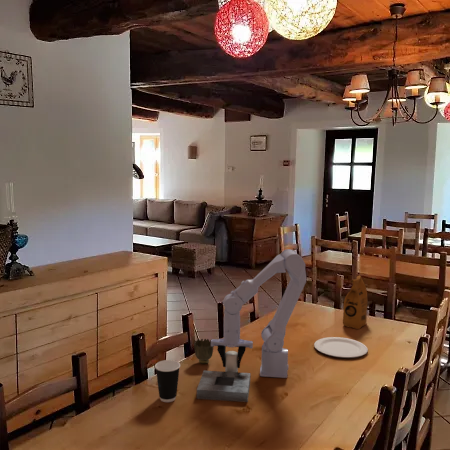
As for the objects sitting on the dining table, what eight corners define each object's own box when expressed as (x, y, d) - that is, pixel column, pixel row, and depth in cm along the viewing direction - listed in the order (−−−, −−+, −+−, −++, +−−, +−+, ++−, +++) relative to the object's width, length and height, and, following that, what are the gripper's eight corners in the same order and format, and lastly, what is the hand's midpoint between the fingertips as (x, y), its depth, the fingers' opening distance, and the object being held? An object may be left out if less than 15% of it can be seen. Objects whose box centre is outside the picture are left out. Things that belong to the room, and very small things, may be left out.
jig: (250, 381, 163) (250, 373, 162) (247, 402, 149) (247, 392, 149) (203, 378, 165) (203, 370, 164) (196, 398, 151) (196, 389, 150)
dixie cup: (185, 397, 152) (185, 364, 150) (168, 407, 145) (168, 372, 144) (167, 390, 156) (166, 357, 155) (149, 399, 150) (149, 366, 148)
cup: (211, 367, 173) (211, 346, 172) (191, 365, 175) (191, 344, 174) (215, 359, 180) (215, 339, 179) (196, 357, 182) (196, 337, 181)
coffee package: (338, 325, 219) (340, 278, 216) (349, 318, 229) (351, 273, 226) (360, 330, 213) (362, 282, 210) (369, 323, 223) (372, 276, 220)
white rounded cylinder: (238, 370, 170) (238, 351, 169) (237, 375, 166) (237, 356, 165) (226, 369, 171) (226, 350, 170) (224, 374, 167) (224, 355, 166)
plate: (309, 355, 186) (309, 351, 186) (319, 337, 205) (319, 333, 205) (364, 364, 178) (364, 360, 178) (370, 345, 197) (370, 341, 197)
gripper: (209, 332, 163) (209, 370, 165) (252, 334, 162) (251, 372, 163) (212, 325, 170) (212, 361, 172) (253, 326, 169) (252, 363, 170)
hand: (231, 366), depth 168 cm, fingers closed on white rounded cylinder, 4 cm apart
